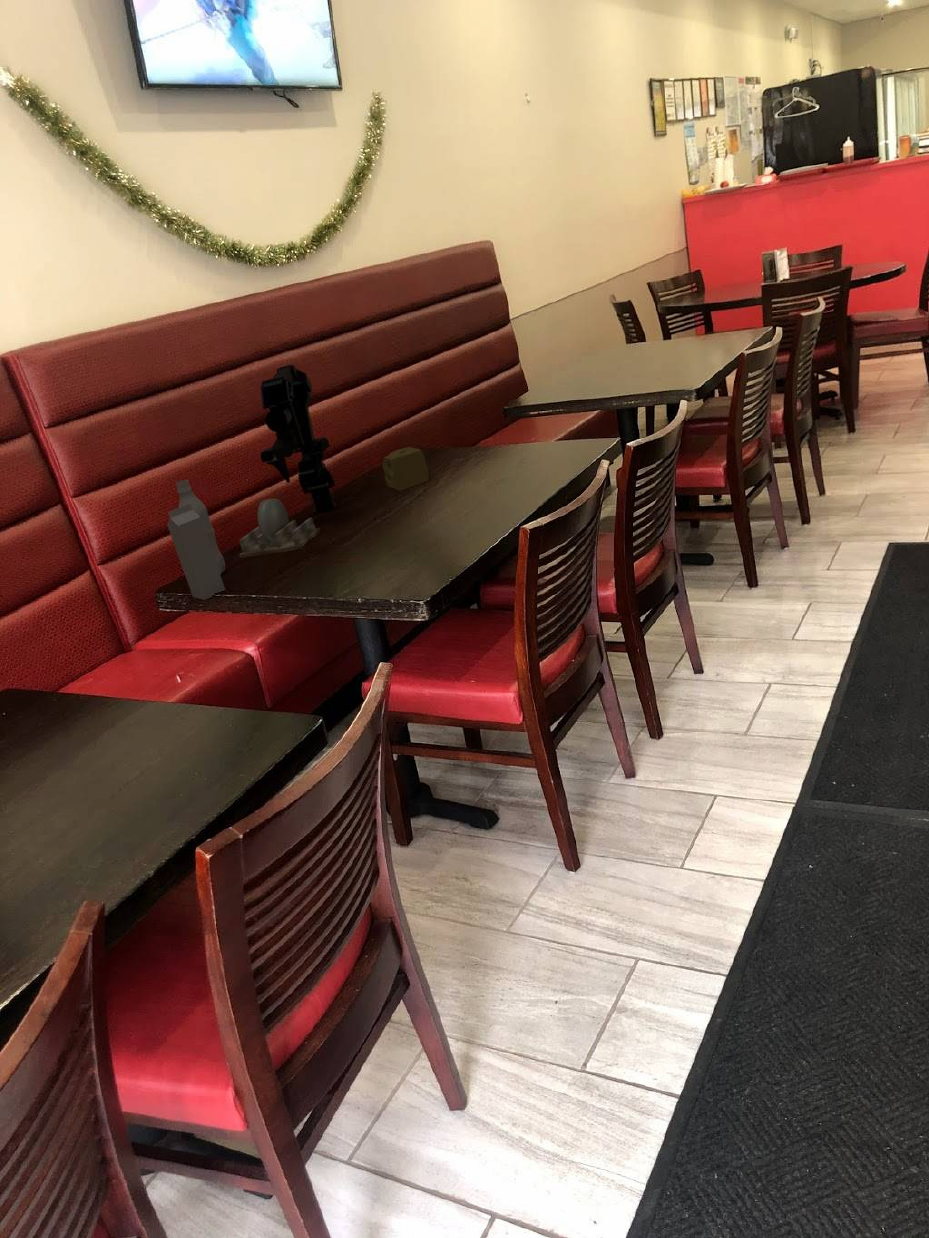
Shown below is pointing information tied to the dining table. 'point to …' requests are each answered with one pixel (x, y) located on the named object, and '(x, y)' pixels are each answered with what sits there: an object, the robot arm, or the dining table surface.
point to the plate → (271, 518)
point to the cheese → (405, 468)
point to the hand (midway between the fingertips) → (303, 480)
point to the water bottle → (201, 510)
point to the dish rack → (278, 539)
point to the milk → (194, 552)
